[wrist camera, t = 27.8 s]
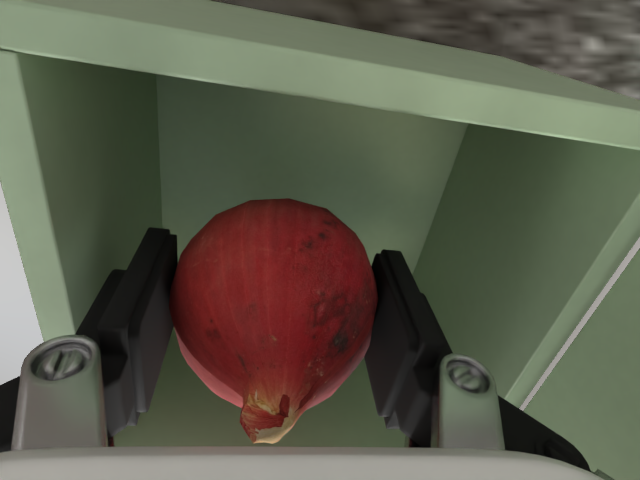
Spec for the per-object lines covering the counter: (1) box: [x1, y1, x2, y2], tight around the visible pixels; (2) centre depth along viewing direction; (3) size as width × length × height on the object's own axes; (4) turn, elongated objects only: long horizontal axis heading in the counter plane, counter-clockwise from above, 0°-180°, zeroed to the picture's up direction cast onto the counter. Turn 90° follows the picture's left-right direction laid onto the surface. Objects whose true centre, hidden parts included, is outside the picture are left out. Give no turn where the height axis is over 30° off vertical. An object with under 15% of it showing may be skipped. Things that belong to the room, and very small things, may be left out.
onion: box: [169, 198, 378, 444], centre depth 11 cm, size 6×6×8 cm
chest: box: [0, 0, 640, 447], centre depth 15 cm, size 15×14×10 cm
